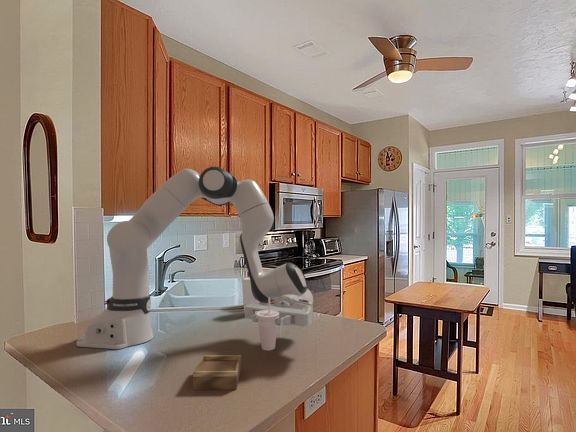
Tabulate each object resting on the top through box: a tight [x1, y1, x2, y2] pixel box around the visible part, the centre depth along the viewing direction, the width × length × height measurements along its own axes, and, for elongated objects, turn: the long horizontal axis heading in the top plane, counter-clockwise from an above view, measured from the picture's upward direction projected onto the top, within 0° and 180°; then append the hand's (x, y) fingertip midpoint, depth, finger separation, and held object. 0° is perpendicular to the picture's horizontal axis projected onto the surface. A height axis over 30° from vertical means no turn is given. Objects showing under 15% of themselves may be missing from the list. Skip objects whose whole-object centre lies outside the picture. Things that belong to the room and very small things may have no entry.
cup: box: [242, 277, 261, 313], centre depth 146 cm, size 7×7×15 cm
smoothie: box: [256, 298, 279, 351], centre depth 94 cm, size 6×6×14 cm
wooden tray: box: [192, 354, 242, 391], centre depth 84 cm, size 10×10×4 cm
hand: (266, 320), depth 93 cm, fingers closed on smoothie, 6 cm apart
